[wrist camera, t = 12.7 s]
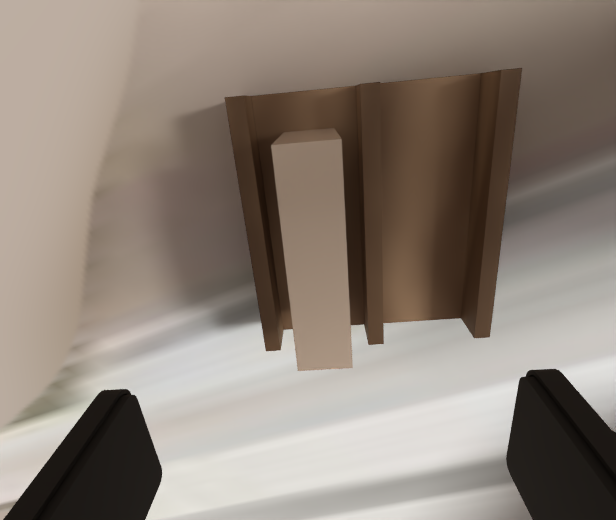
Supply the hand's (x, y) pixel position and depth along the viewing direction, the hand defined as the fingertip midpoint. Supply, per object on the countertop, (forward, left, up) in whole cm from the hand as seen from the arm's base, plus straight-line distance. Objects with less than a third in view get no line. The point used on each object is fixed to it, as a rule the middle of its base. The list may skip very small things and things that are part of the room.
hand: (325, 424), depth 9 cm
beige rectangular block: (0, 0, -17) cm, 17 cm away
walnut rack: (-3, 0, -18) cm, 18 cm away
